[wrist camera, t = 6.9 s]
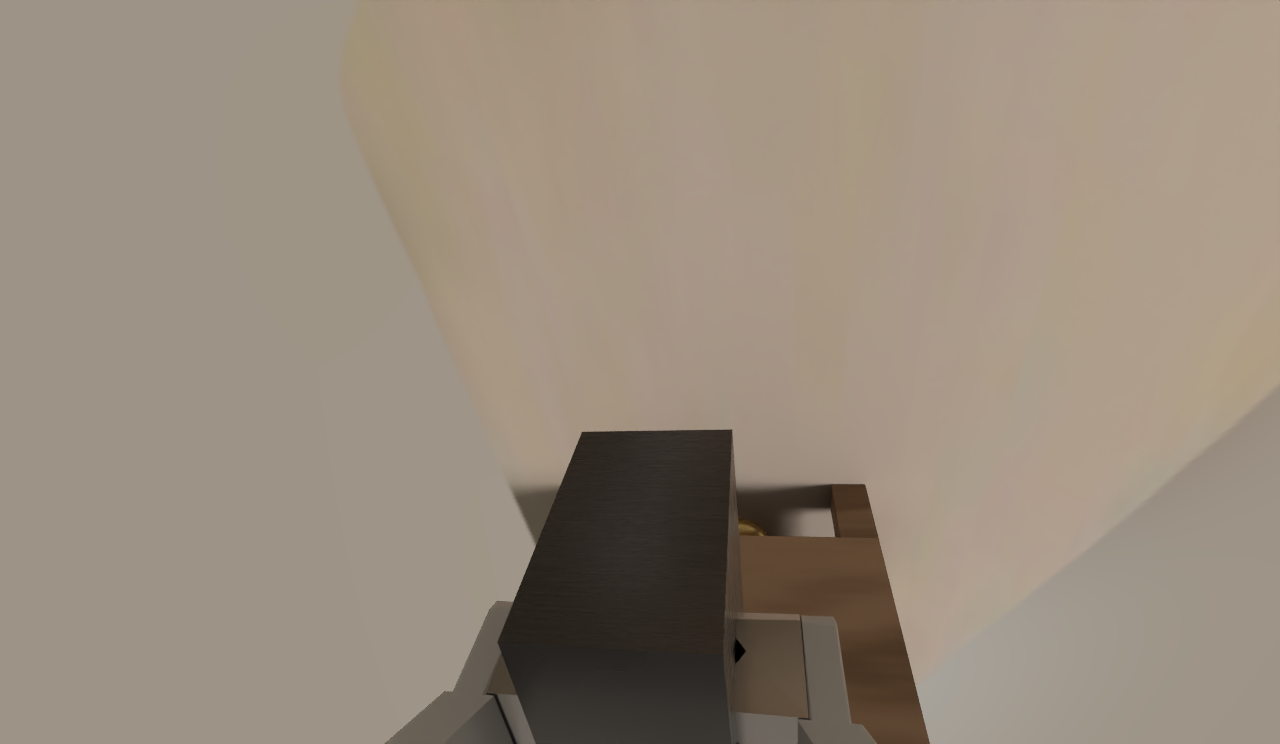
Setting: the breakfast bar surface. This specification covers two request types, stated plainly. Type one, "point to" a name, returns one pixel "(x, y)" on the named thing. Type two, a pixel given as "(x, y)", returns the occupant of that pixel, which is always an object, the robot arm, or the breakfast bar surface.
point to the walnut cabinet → (843, 610)
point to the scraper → (633, 595)
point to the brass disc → (750, 528)
